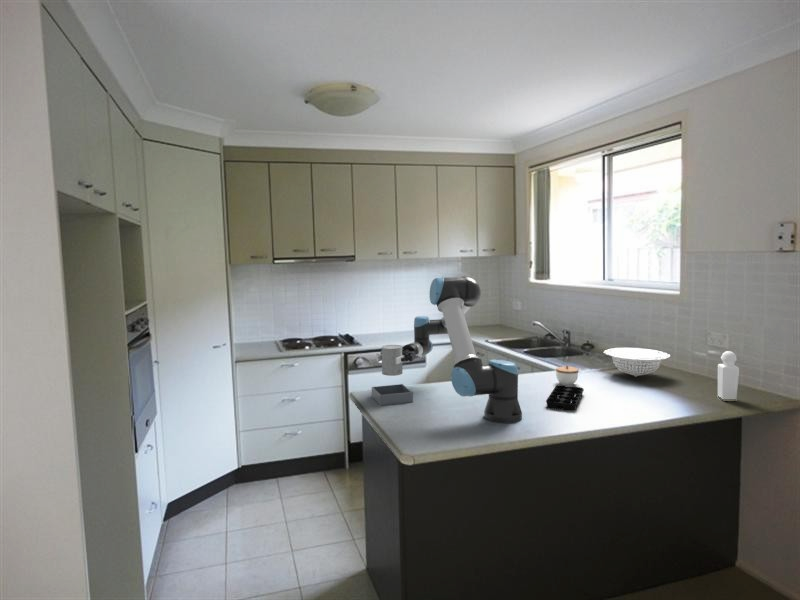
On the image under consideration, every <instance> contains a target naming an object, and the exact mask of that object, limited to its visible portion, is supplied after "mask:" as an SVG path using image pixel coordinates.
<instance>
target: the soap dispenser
mask: <svg viewBox="0 0 800 600" xmlns="http://www.w3.org/2000/svg"><path fill="white" fill-rule="evenodd" d="M736 355H737V354H735V352H733V351H730V350H726V351H724V352H723V353H722V354H721V356H720V359H721V362H722V363H718V364H717V397H718V396H719V397H721V398H722V399H736V400H737V396H738V386H739V377H740V376H739V375H740V367H739V366H738V365H735V364H736V361H737V356H736Z"/></svg>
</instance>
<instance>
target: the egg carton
mask: <svg viewBox="0 0 800 600" xmlns="http://www.w3.org/2000/svg"><path fill="white" fill-rule="evenodd" d="M583 392H584V388H583V387H579V386H572V385H570V386H567V385H562V384H560V385H559V384H558V385H555V387H554V388H553V389H552V391H551V392H550V394H549V396H548V397H547V399H546V401H545V402H546V407H547V409H548V410H549V409H550V410H559V409H562V410H563V411H569V412H573V411H576V410H577V409H576V408H577V407H578V404H579V401H580V400H581V398H582V397H583Z"/></svg>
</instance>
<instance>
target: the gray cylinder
mask: <svg viewBox="0 0 800 600" xmlns="http://www.w3.org/2000/svg"><path fill="white" fill-rule="evenodd" d="M402 348H403V345H400V344H385V345H382V346H381V352H382V361H381V374H382V375H383V376H387V377H388V376H389V377H390V376H391V377H393V376H399V375H400V376H401V375H403V362H402V363H399V364H396V358H397V357H400V356H402Z"/></svg>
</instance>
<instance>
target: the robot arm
mask: <svg viewBox="0 0 800 600" xmlns="http://www.w3.org/2000/svg"><path fill="white" fill-rule="evenodd" d="M481 294H482V290H481V287H480V284H479V283H478V282H477V281H476V279H474V278H472V277H469V276H452V277H451V276H449V277H447V276H445V277H444V276H441V277H435V278H433V280H432V281H431V283H430V287H429V301H430V303H431V304H432V305H434V306H436V307H437V310H438V311H439V312H441V313H442V316H443V317H442V318H441V319H430V317H429V316H427V315H426V316H425V315H420V316H418V315H417V316H415V317H414V319H413V320H414V321H413V333H414V334H413V335H414V338H413V339H414V340H413V342H411V343H410V342H409V343H408V344H406V345H403V346H402V356H400V357H397V358H396V364H399V363H402V364H403V363H404V362H413V361H414V360H416V359H418V358H419V357H421V356H425V355H428V354H429V353H431V352H432V350H433V346H434V345H433V342H432V341H431V339H430V336H432V335H433V336H434V335H436V336H437V335H448V338H449V343H450V345H451V349H452V351H453V352H452V353H453V356H454V360H455V362H454V364H453V368H452V370H451V371H450V381H451V384H452V387H453V389H454V391H455V392H456V394H457V395H459V396H460V397H475V396H483V395H484V396H485V395H488V399H487V402H486V405H485V408H484V412H483V413H484V415H483V417H484V419H486V420H488V421H491V422H494V423H501V424H502V423H503V424H506V423H507V424H510V423H511V424H512V423H517V422H519V421H521V420H522V418H523V411H522V408H521V406H520V402H519V398H518V397H519V395H518V394H519V390H518V389H519V369H518V365H517V364H516V363H515V362H512V361H510V360H509V361H508V360H504V359H489V360H488V364H483V362H482V358H480V357H479V356H477V354H476V350H475V348H474V343H473V341H472V340H473V339H472V337H471V334H470V330H469V327H468V323H467V320H466V317H465V314H467V312H468V311H469V310H470V308H471V307H475V306H476V304H478V302H480V301H479V300H480V298H481ZM377 362H382V351H381V352H380V354H378V355H376V363H377Z"/></svg>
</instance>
